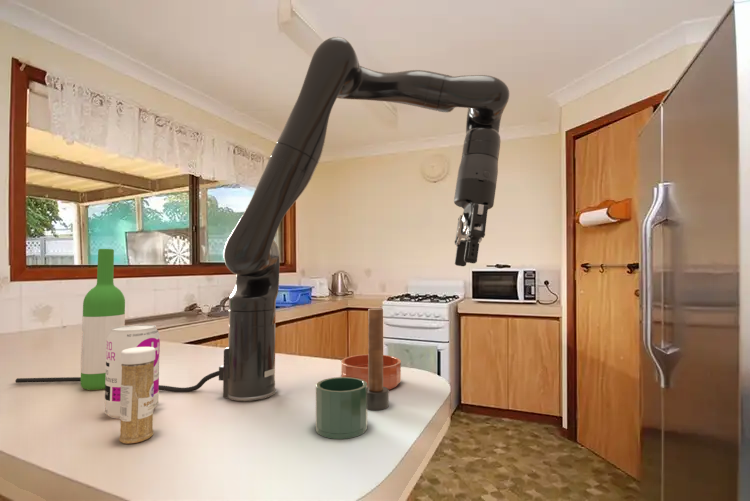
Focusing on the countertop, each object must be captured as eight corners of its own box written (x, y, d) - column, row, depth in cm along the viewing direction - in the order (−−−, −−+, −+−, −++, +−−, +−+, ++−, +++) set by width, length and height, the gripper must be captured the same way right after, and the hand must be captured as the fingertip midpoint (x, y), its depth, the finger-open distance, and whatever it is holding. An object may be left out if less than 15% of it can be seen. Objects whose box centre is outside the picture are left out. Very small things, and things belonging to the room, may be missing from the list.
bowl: (335, 391, 83) (335, 367, 83) (348, 374, 96) (348, 353, 96) (398, 394, 81) (398, 369, 81) (402, 376, 94) (402, 355, 94)
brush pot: (309, 437, 60) (309, 390, 60) (323, 417, 68) (323, 376, 69) (362, 440, 59) (362, 393, 59) (370, 419, 67) (370, 378, 67)
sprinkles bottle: (154, 439, 59) (156, 349, 60) (118, 447, 57) (121, 353, 57) (152, 429, 63) (154, 344, 64) (118, 436, 61) (120, 347, 61)
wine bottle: (71, 389, 84) (76, 248, 86) (108, 379, 92) (111, 250, 93) (95, 393, 81) (100, 247, 83) (131, 383, 89) (134, 249, 90)
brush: (360, 409, 72) (360, 310, 73) (365, 400, 77) (365, 307, 77) (387, 410, 71) (386, 310, 72) (389, 402, 76) (389, 307, 77)
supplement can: (168, 406, 74) (170, 325, 74) (127, 422, 66) (130, 332, 67) (135, 401, 76) (137, 323, 77) (93, 416, 69) (95, 329, 69)
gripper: (450, 188, 84) (439, 264, 83) (465, 168, 70) (452, 258, 68) (485, 194, 84) (475, 269, 82) (507, 174, 70) (495, 265, 68)
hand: (464, 264), depth 75 cm, fingers open, 8 cm apart
